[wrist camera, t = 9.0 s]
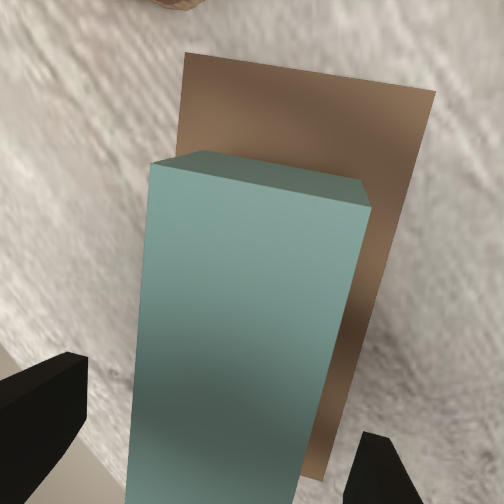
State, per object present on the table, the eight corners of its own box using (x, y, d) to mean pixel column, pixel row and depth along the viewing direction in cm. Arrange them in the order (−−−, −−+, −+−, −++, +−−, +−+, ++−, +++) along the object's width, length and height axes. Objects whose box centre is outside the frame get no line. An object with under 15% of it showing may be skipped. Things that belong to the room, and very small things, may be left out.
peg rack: (323, 465, 21) (319, 540, 17) (157, 419, 22) (121, 480, 18) (429, 92, 15) (461, 84, 11) (193, 55, 16) (150, 37, 12)
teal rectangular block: (286, 474, 16) (271, 578, 13) (169, 440, 17) (122, 530, 13) (361, 179, 12) (371, 207, 9) (203, 149, 13) (150, 163, 9)
